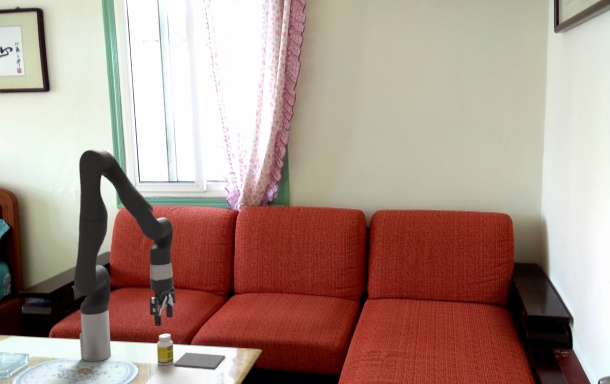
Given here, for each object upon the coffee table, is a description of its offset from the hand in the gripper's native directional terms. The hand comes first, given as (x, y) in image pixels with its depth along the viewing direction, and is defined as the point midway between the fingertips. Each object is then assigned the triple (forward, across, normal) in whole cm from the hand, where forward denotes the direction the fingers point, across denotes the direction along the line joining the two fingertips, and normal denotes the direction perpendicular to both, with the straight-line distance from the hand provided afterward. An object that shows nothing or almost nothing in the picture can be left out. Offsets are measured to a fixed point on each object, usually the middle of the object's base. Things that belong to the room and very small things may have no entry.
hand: (164, 321), depth 188 cm
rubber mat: (+15, -3, +11) cm, 19 cm away
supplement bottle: (+15, 0, 0) cm, 15 cm away
